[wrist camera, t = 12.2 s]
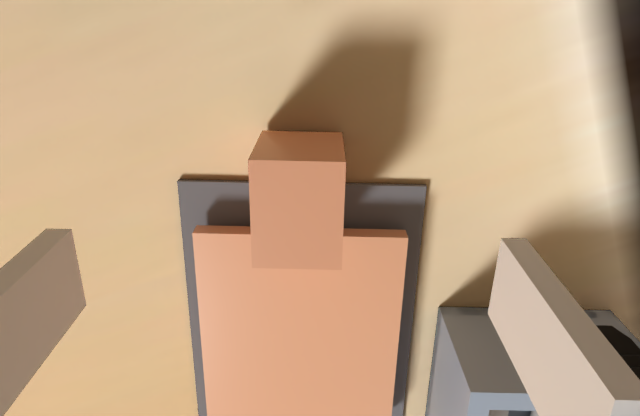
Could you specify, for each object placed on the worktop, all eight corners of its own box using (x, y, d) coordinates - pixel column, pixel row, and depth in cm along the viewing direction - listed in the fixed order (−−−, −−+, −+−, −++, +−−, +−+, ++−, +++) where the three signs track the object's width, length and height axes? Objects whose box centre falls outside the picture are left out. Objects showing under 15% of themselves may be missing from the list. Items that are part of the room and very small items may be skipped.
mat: (178, 179, 27) (177, 181, 26) (425, 184, 27) (426, 186, 26) (201, 426, 33) (200, 429, 33) (400, 430, 33) (400, 434, 33)
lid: (192, 129, 25) (162, 157, 21) (412, 133, 25) (431, 163, 21) (213, 408, 32) (194, 478, 28) (387, 412, 32) (397, 483, 28)
